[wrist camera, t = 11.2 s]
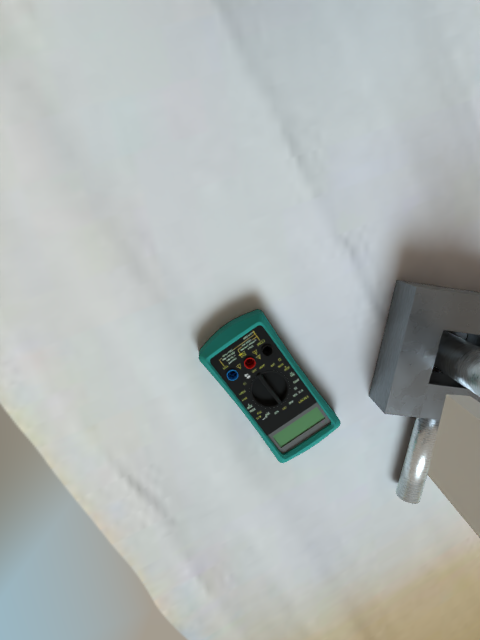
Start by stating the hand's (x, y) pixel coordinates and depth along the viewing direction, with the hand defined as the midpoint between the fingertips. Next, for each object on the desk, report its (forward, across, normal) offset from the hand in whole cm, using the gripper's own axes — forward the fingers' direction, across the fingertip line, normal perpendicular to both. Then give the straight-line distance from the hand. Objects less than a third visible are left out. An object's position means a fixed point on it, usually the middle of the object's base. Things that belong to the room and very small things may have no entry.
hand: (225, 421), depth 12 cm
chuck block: (+28, +23, -10) cm, 37 cm away
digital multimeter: (+28, +6, -10) cm, 31 cm away
